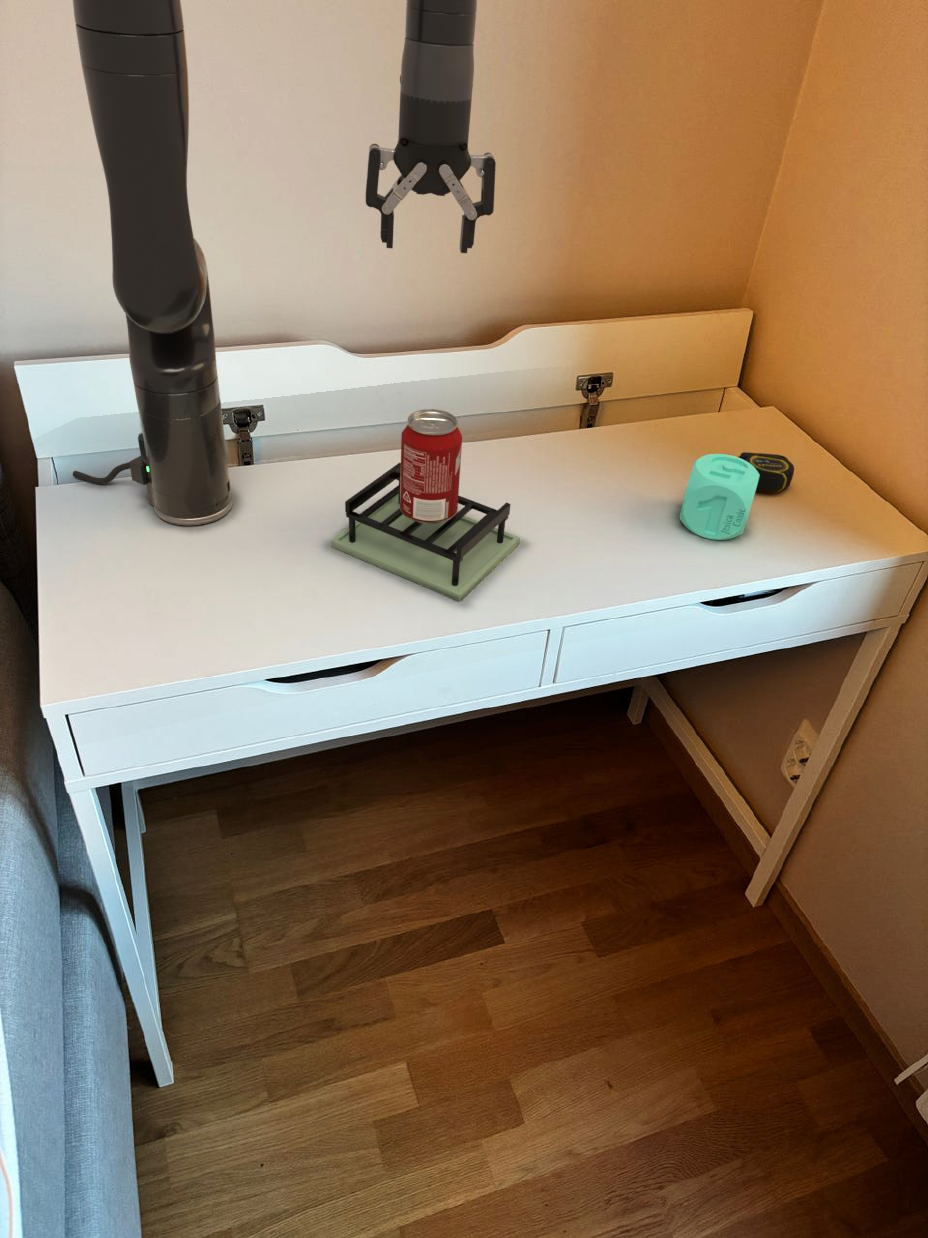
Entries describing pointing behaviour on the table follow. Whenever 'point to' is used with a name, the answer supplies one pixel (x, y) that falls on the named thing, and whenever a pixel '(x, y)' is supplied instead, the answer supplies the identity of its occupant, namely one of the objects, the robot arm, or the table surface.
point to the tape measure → (770, 471)
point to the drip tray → (426, 552)
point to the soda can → (430, 466)
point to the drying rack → (459, 546)
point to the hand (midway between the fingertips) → (426, 248)
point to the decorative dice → (719, 496)
